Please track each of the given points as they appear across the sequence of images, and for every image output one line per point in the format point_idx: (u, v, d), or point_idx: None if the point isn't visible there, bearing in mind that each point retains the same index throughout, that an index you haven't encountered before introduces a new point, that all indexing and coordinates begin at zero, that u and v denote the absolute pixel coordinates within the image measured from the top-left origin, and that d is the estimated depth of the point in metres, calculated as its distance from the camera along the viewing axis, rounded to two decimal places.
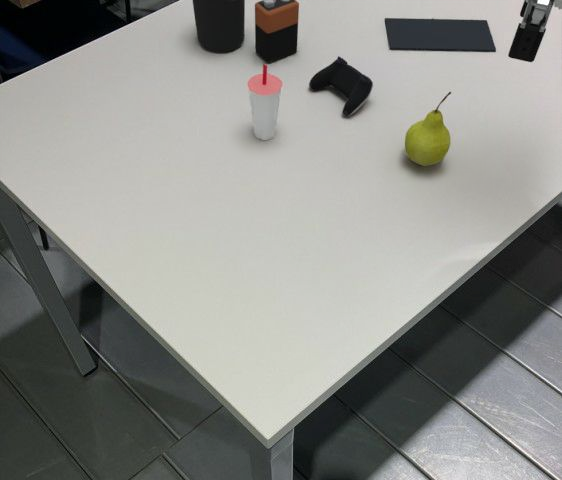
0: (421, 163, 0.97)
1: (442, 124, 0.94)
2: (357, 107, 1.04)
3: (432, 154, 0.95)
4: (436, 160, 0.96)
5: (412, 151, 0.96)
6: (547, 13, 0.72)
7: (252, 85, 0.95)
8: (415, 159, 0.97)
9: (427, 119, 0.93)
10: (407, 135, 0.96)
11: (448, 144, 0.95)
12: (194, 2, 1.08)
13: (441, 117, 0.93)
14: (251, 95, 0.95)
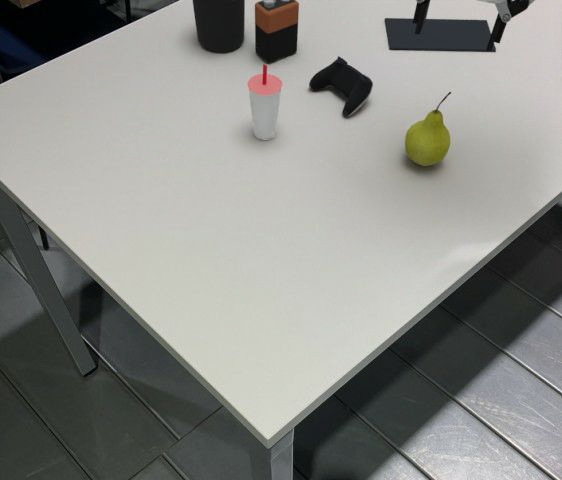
0: (421, 163, 0.97)
1: (442, 124, 0.94)
2: (357, 107, 1.04)
3: (432, 154, 0.95)
4: (436, 160, 0.96)
5: (412, 151, 0.96)
6: None
7: (252, 85, 0.95)
8: (415, 159, 0.97)
9: (427, 119, 0.93)
10: (407, 135, 0.96)
11: (448, 144, 0.95)
12: (194, 2, 1.08)
13: (441, 117, 0.93)
14: (251, 95, 0.95)
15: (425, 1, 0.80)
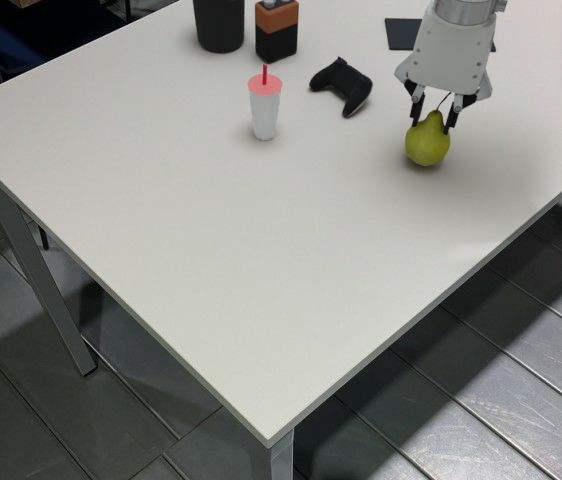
0: (421, 163, 0.97)
1: (442, 124, 0.94)
2: (357, 107, 1.04)
3: (432, 154, 0.95)
4: (436, 160, 0.96)
5: (412, 151, 0.96)
6: None
7: (252, 85, 0.95)
8: (415, 159, 0.97)
9: (427, 119, 0.93)
10: (407, 135, 0.96)
11: (448, 144, 0.95)
12: (194, 2, 1.08)
13: (441, 117, 0.93)
14: (251, 95, 0.95)
15: (420, 101, 0.91)
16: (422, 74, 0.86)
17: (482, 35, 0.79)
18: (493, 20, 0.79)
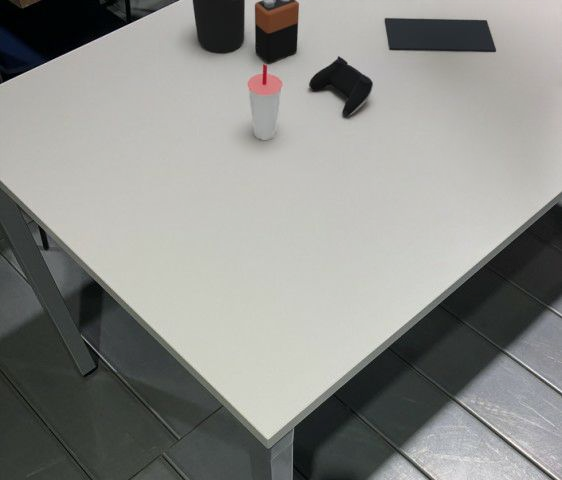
0: None
1: None
2: (357, 107, 1.04)
3: None
4: None
5: None
6: None
7: (252, 85, 0.95)
8: None
9: None
10: None
11: None
12: (194, 2, 1.08)
13: None
14: (251, 95, 0.95)
15: None
16: None
17: None
18: None
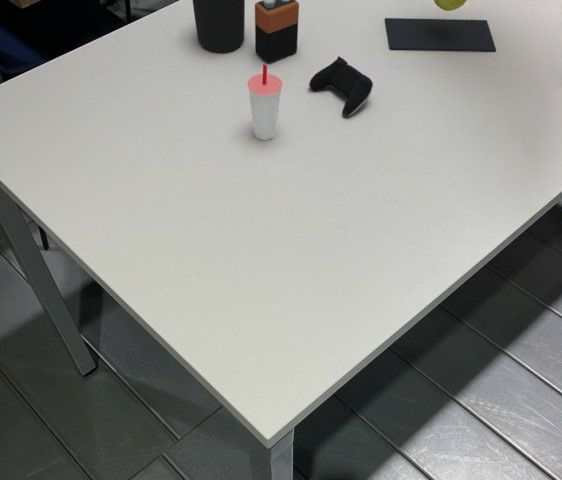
0: (446, 6, 1.11)
1: None
2: (357, 107, 1.04)
3: None
4: (459, 3, 1.10)
5: None
6: None
7: (252, 85, 0.95)
8: (441, 2, 1.11)
9: None
10: None
11: None
12: (194, 2, 1.08)
13: None
14: (251, 95, 0.95)
15: None
16: None
17: None
18: None
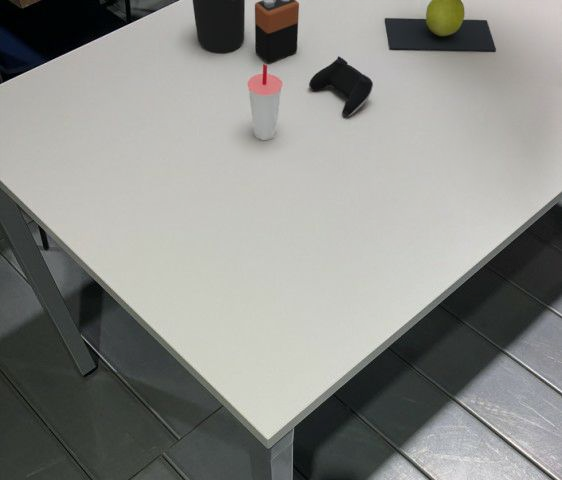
0: (440, 32, 1.15)
1: None
2: (357, 107, 1.04)
3: (449, 22, 1.13)
4: (452, 29, 1.14)
5: (432, 21, 1.14)
6: None
7: (252, 85, 0.95)
8: (435, 29, 1.15)
9: None
10: (428, 8, 1.14)
11: (463, 14, 1.13)
12: (194, 2, 1.08)
13: None
14: (251, 95, 0.95)
15: None
16: None
17: None
18: None
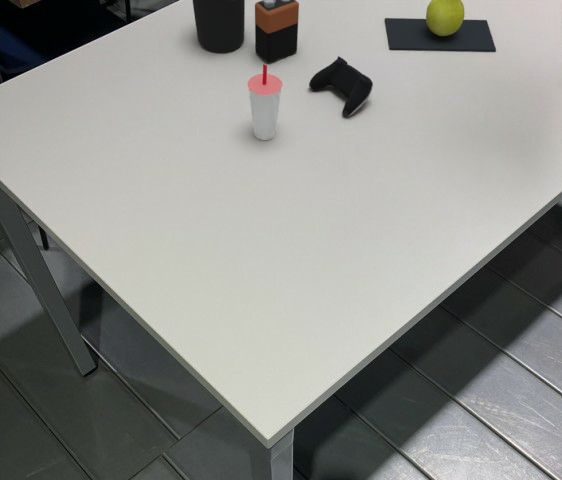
0: (440, 32, 1.15)
1: None
2: (357, 107, 1.04)
3: (449, 22, 1.13)
4: (452, 29, 1.14)
5: (432, 21, 1.14)
6: None
7: (252, 85, 0.95)
8: (435, 29, 1.15)
9: None
10: (428, 8, 1.14)
11: (463, 14, 1.13)
12: (194, 2, 1.08)
13: None
14: (251, 95, 0.95)
15: None
16: None
17: None
18: None
